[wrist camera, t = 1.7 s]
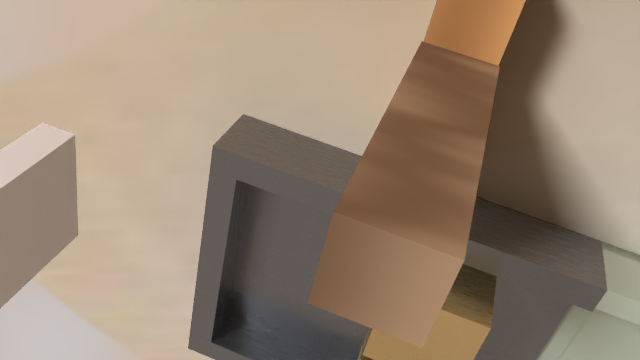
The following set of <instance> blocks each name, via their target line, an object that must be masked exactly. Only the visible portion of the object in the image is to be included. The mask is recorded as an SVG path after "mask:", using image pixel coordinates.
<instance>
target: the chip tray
mask: <svg viewBox="0 0 640 360" xmlns="http://www.w3.org/2000/svg"><path fill="white" fill-rule="evenodd" d="M602 248H603V257H604V265H605V274H606V282H607V292H606V293H605V295H604V296H603V297H602V299H601V300H600V302H599V303H598V305H597V306H596V307H595V309H594V310H593V312H591V311H588V310H586V309H583V308H580V307H578V306H575V305H571V307H570V308H569V310H568V311H567V313H566V314H565V316H564V317H563V319H562V320H561V322H560V323H559V325H558V326H557V328H556V329H555V331H554V332H553V334H552V335H551V337H550V338H549V340H548V341H547V343H546V344H545V346H544V347H543V349H542V350H541V352H540V353H539V355H538V356H537V358H536V359H535V360H640V255H637V254H634V253H632V252H629V251H626V250H623V249H620V248H618V247H615V246H612V245H609V244H606V243H604V242H602Z"/></svg>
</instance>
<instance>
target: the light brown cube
mask: <svg viewBox="0 0 640 360" xmlns="http://www.w3.org/2000/svg"><path fill="white" fill-rule="evenodd" d="M496 278H497V276H494V275H492V274H489V273H486V272H484V271H481V270H478V269H476V268H473V267H470V266H468V265H465V264H462V267H461V269H460V271H459V273H458V275H457V277H456V279H455V281H454V283H453V285H452V287H451V289H450V292H449V294H448V296H447V298H446V300H445V302H444V304H443V306H442V308H441V310H440V312H439V315H438V317H437V319H436V321H435V323H434V325H433V327H432V329H431V331H430V333H429V335H428V337H427V340H426V342H425V344H424V346H423V348H420V347H417V346H415V345H412V344H410V343H407V342H404V341H402V340H399V339H397V338H394V337H392V336H389V335H387V334H384V333H382V332H379V331H377V330H374V329H372V328H371V331H370V334H369V337H368V340H367V343H366V346H365V349H364V352H363V355H364V356H366V357H369V358H371V359H374V360H473V359H474V358H475V356H476V354H477V352H478V351H479V349H480V347H481V345H482V344H483V342H484V340H485V338H486V337H487V335H488V333H489V331H490V330H491V324H492V315H493V306H494V297H495V287H496Z"/></svg>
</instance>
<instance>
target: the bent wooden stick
mask: <svg viewBox="0 0 640 360" xmlns="http://www.w3.org/2000/svg"><path fill="white" fill-rule="evenodd" d="M525 1H526V0H437V2H436V5H435V8H434V11H433V14H432V17H431V21H430V24H429V27H428V30H427V33H426V36H425V39H424V42H423V41H422V42H421V44H420V46H419V48H418V50H417V52H416V54H415V56H414V58H413V60H412V62H411V64H410V65H409V67H408V69H407V71H406V73H405V75H404V77H403V79H402V81H401V83H400V85H399V87H398V89H397V90H396V92H395V94H394V96H393V98H392V100H391V102H390V104H389V106H388V108H387V110H386V112H385V114H384V116H383V117H382V119H381V121H380V123H379V125H378V127H377V129H376V131H375V133H374V135H373V137H372V139H371V141H370V143H369V144H368V146H367V148H366V150H365V152H364V154H363V156H362V158H361V160H360V162H359V164H358V166H357V168H356V169H355V171H354V173H353V175H352V177H351V179H350V181H349V183H348V185H347V187H346V189H345V191H344V193H343V195H342V196H341V198H340V200H339V202H338V204H337V206H336V208H335V210H334V212H333V215H332V219H331V222H330V226H329V229H328V233H327V237H326V240H325V244H324V247H323V251H322V254H321V258H320V261H319V265H318V268H317V272H316V275H315V279H314V282H313V286H312V289H311V293H310V296H309V300H308V303H309V304H311V305H314V306H316V307H319V308H321V309H324V310H326V311H329V312H331V313H334V314H336V315H339V316H341V317H344V318H346V319H349V320H352V321H354V322H357V323H359V324H362V325H364V326H367V327H369V328H372V329H374V330H377V331H379V332H382V333H384V334H387V335H389V336H392V337H394V338H397V339H399V340H402V341H404V342H407V343H410V344H412V345H415V346H417V347H420V348H423V346H424V344H425V342H426V340H427V337H428V335H429V333H430V331H431V329H432V327H433V325H434V323H435V321H436V319H437V317H438V315H439V312H440V310H441V308H442V306H443V304H444V302H445V300H446V298H447V296H448V294H449V292H450V289H451V287H452V285H453V283H454V281H455V279H456V277H457V275H458V273H459V271H460V269H461V267H462V264H463V262H464V260H465V255H466V249H467V244H468V238H469V233H470V227H471V222H472V216H473V211H474V205H475V200H476V194H477V189H478V184H479V178H480V173H481V167H482V162H483V156H484V151H485V145H486V140H487V134H488V129H489V124H490V118H491V113H492V107H493V102H494V96H495V91H496V85H497V80H498V74H499V69H500V66H499V63H500V61H501V59H502V56H503V54H504V51H505V49H506V47H507V44H508V42H509V39H510V37H511V35H512V32H513V30H514V27H515V25H516V23H517V20H518V18H519V15H520V13H521V11H522V8H523V6H524V3H525Z"/></svg>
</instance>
